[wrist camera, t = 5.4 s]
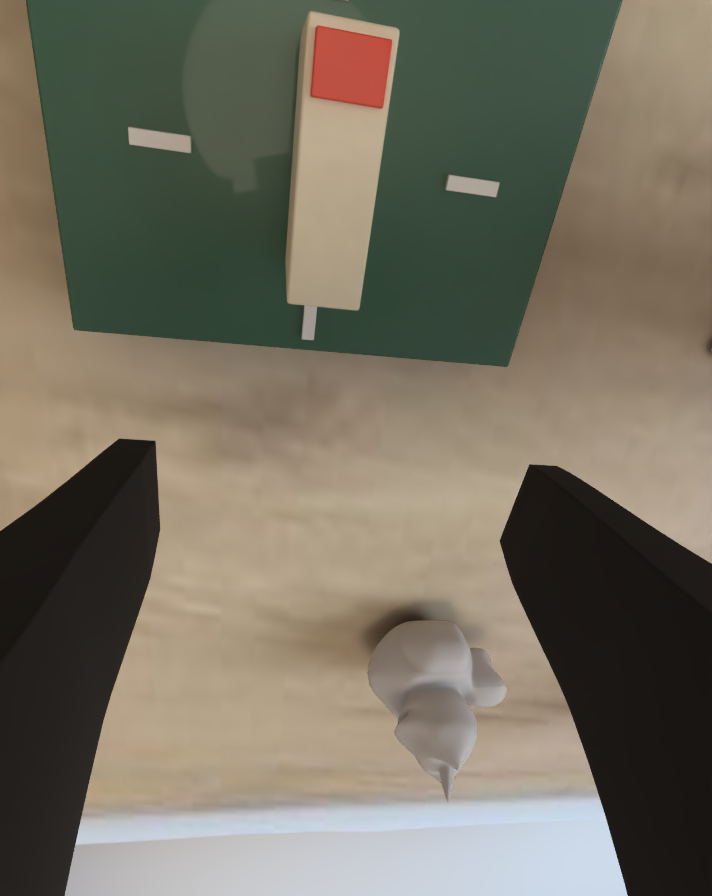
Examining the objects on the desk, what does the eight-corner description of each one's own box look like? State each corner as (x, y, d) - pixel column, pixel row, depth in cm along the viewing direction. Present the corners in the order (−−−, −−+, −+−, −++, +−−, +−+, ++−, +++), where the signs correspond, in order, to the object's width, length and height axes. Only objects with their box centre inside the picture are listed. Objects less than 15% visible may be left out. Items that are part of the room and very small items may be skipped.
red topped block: (343, 269, 15) (360, 315, 12) (285, 262, 14) (287, 308, 11) (370, 46, 12) (404, 26, 9) (300, 33, 12) (308, 7, 9)
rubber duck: (372, 597, 26) (404, 769, 19) (498, 599, 27) (570, 761, 20) (355, 667, 29) (377, 838, 22) (470, 666, 30) (524, 827, 23)
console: (584, -23, 14) (642, -46, 12) (483, 338, 19) (510, 369, 17) (45, -147, 12) (-10, -204, 9) (98, 302, 17) (70, 333, 15)
